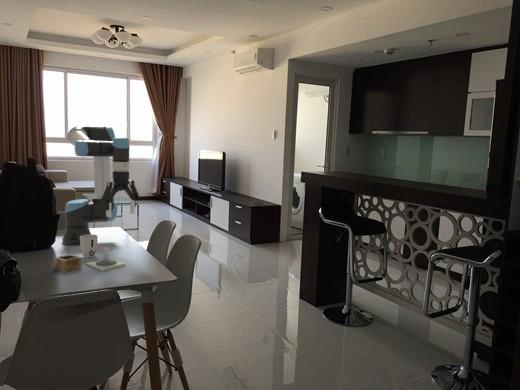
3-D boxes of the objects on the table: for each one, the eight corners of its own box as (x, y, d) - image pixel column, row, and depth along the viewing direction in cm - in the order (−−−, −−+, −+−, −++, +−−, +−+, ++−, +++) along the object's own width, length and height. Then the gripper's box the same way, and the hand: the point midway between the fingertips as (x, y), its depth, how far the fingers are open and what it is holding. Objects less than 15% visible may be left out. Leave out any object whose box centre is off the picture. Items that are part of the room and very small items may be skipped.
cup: (91, 259, 205) (91, 238, 204) (76, 257, 207) (76, 237, 206) (100, 254, 213) (100, 235, 212) (86, 253, 215) (86, 233, 214)
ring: (54, 268, 189) (54, 257, 189) (71, 264, 196) (71, 254, 195) (63, 272, 184) (63, 261, 184) (81, 268, 191) (81, 257, 190)
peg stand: (86, 265, 195) (86, 247, 194) (109, 260, 205) (109, 243, 204) (102, 271, 188) (102, 252, 187) (125, 265, 198) (125, 247, 197)
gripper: (102, 172, 188) (103, 219, 191) (147, 170, 209) (146, 213, 211) (92, 171, 192) (93, 217, 195) (136, 169, 213) (136, 211, 215)
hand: (120, 215), depth 203 cm, fingers open, 13 cm apart
